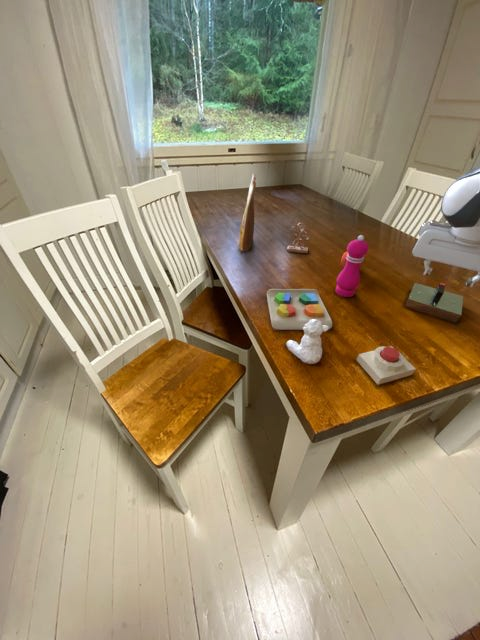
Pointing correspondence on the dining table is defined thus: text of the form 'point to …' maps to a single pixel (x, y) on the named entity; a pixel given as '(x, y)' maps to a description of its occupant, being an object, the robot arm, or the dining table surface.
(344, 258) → the apple
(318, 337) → the sitting furry creature
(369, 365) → the button block
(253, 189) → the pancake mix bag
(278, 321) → the puzzle board
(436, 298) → the black switch lever
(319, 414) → the dining table surface
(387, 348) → the button
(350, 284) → the pepper mill
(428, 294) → the panel
